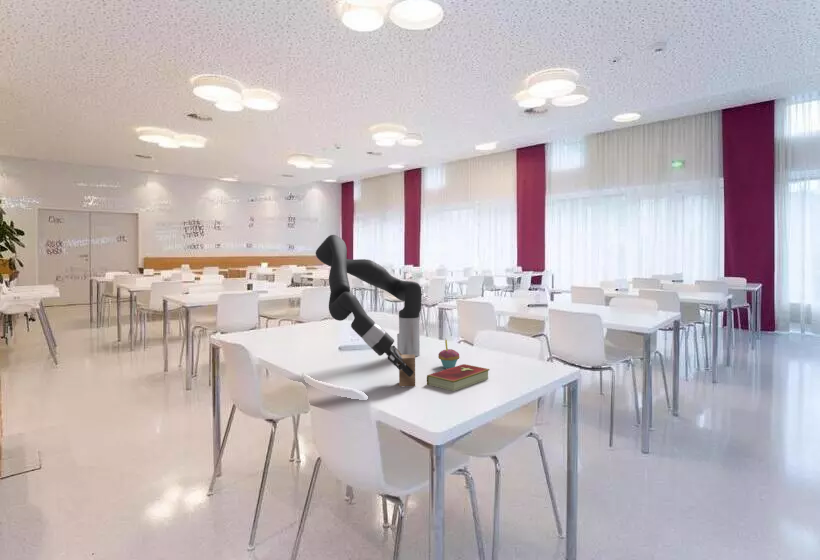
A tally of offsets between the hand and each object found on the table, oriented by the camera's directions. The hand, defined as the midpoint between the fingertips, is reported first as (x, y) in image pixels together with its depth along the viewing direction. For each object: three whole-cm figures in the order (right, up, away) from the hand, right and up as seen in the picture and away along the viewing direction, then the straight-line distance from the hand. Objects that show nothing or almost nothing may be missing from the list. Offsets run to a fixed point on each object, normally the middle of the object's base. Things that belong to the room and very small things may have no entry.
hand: (411, 371), depth 159 cm
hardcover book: (+17, -5, +3) cm, 18 cm away
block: (-1, -5, 0) cm, 5 cm away
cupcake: (+15, -3, +24) cm, 29 cm away
